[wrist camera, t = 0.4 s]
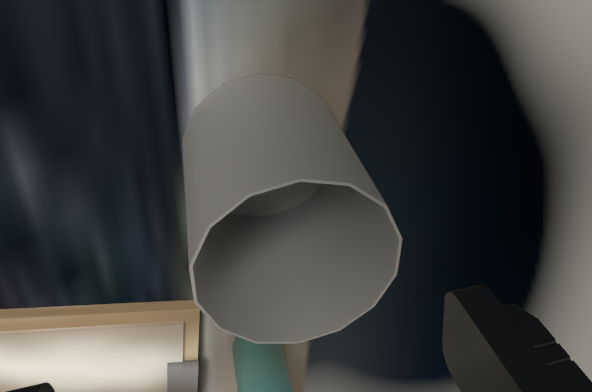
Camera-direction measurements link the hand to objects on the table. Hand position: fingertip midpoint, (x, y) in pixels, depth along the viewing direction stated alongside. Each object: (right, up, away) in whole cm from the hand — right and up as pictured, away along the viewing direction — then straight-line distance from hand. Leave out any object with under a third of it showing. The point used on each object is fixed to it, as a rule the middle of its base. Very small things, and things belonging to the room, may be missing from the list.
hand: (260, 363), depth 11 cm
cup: (-1, +6, +18) cm, 19 cm away
